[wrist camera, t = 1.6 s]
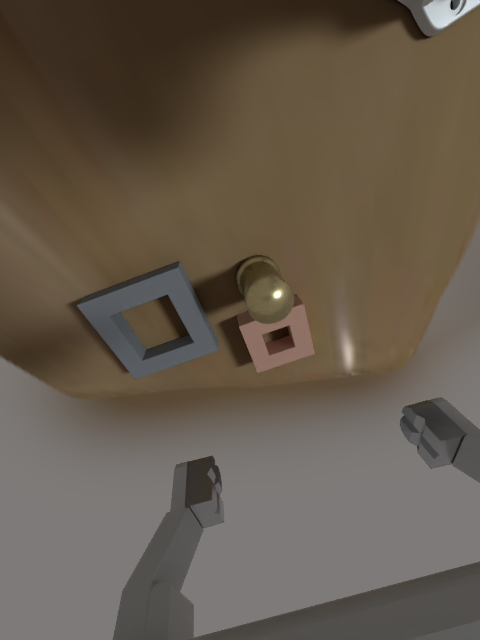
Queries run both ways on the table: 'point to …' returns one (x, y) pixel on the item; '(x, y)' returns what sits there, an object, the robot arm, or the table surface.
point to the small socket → (281, 348)
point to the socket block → (142, 289)
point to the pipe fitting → (264, 289)
